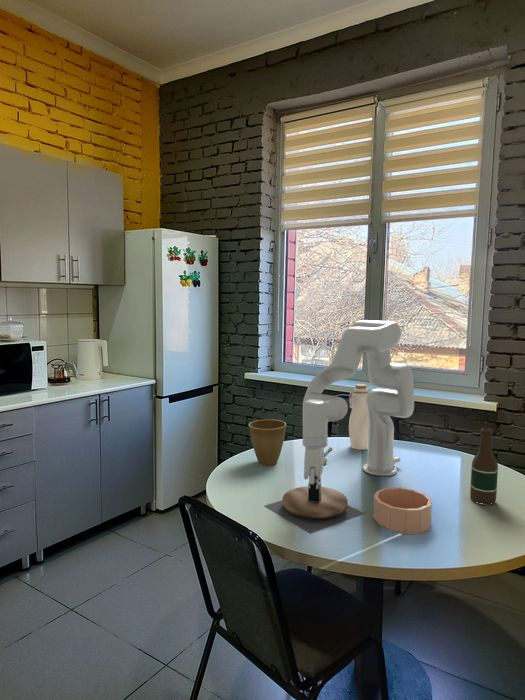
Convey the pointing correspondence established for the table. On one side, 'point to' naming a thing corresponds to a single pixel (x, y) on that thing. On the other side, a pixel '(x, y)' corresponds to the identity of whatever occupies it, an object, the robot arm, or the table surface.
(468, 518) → the table surface
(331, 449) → the soupspoon
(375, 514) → the bowl
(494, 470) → the beer bottle
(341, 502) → the lid
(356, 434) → the water bottle
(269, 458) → the plant pot
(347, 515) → the mat
